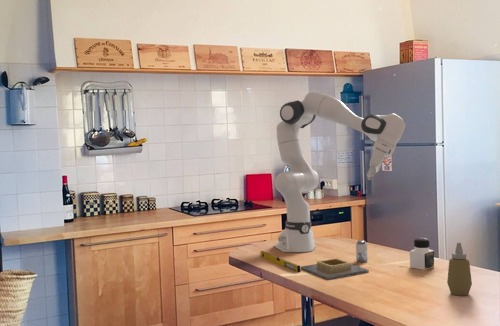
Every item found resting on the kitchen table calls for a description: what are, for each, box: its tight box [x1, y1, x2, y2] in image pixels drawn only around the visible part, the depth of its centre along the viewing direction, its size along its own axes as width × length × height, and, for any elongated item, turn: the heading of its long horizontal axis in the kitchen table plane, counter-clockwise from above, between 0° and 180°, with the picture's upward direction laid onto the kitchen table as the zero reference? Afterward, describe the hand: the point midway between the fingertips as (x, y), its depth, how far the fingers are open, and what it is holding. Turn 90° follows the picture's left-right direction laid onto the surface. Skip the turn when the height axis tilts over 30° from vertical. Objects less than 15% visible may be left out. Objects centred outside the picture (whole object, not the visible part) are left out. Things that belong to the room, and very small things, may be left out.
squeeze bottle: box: [446, 242, 473, 297], centre depth 196 cm, size 8×8×18 cm
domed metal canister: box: [355, 239, 368, 264], centre depth 246 cm, size 5×5×9 cm
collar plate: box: [300, 257, 369, 280], centre depth 233 cm, size 20×20×4 cm
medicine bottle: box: [409, 237, 435, 271], centre depth 233 cm, size 7×7×12 cm
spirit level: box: [260, 250, 301, 273], centre depth 247 cm, size 33×1×3 cm, turn 26°
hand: (368, 178), depth 244 cm, fingers open, 8 cm apart
